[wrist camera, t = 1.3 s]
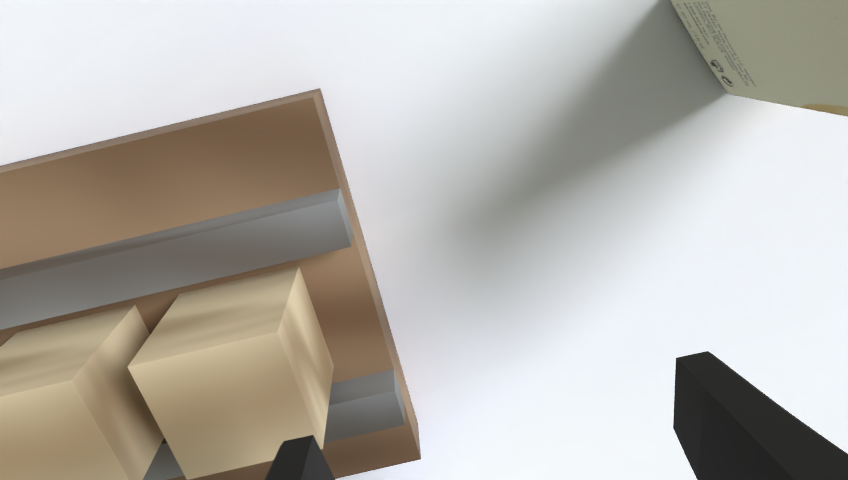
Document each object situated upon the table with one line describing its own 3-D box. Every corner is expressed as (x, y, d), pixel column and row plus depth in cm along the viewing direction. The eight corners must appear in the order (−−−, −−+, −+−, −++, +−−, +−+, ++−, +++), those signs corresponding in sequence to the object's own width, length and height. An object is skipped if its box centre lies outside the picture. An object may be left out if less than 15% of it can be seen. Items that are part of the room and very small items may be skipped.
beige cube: (182, 400, 19) (136, 491, 16) (73, 426, 20) (2, 522, 16) (135, 304, 18) (71, 379, 14) (17, 332, 18) (-77, 414, 14)
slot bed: (417, 423, 23) (422, 483, 20) (95, 497, 23) (54, 567, 20) (320, 88, 18) (308, 103, 15) (-97, 189, 18) (-191, 223, 15)
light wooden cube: (333, 365, 19) (322, 448, 16) (223, 391, 19) (187, 479, 16) (298, 265, 18) (277, 331, 14) (179, 293, 18) (127, 366, 14)
